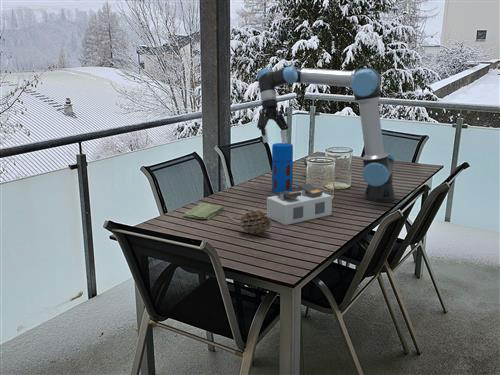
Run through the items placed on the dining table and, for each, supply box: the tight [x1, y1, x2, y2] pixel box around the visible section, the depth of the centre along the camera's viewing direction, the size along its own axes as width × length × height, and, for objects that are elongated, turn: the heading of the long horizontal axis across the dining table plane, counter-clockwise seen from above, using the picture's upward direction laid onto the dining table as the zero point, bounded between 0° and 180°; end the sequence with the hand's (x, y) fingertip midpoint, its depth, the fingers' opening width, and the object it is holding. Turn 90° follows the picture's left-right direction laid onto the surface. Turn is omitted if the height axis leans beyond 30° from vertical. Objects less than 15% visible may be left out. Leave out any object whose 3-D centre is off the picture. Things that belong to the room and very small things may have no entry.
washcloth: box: [182, 202, 224, 221], centre depth 234 cm, size 13×18×3 cm
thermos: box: [271, 142, 294, 194], centre depth 268 cm, size 11×11×25 cm
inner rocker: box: [297, 183, 323, 197], centre depth 230 cm, size 10×6×2 cm, turn 32°
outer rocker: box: [276, 190, 301, 198], centre depth 224 cm, size 10×6×2 cm, turn 32°
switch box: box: [266, 186, 333, 226], centre depth 229 cm, size 14×26×12 cm, turn 122°
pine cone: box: [226, 209, 272, 235], centre depth 209 cm, size 22×10×10 cm, turn 62°
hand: (275, 142), depth 247 cm, fingers open, 13 cm apart
